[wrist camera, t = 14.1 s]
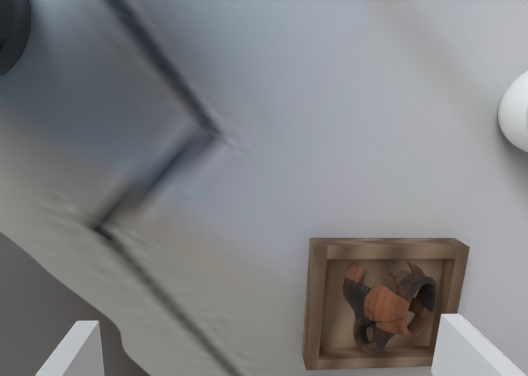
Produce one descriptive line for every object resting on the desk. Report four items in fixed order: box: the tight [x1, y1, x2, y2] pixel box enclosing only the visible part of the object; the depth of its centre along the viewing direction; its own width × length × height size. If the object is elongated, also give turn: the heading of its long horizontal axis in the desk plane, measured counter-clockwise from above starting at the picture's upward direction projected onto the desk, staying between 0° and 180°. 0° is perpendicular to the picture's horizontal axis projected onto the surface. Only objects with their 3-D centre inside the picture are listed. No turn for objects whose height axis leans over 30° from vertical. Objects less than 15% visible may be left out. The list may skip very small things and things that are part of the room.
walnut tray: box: [302, 238, 470, 370], centre depth 42 cm, size 19×17×3 cm
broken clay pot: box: [343, 261, 437, 354], centre depth 40 cm, size 12×10×8 cm
